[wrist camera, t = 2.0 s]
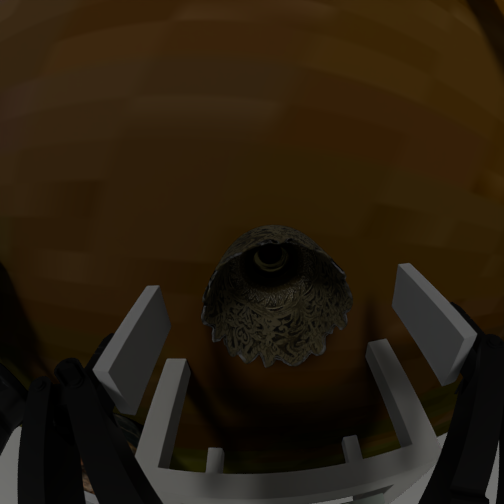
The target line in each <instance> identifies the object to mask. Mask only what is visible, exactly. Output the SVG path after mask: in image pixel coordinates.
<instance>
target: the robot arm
mask: <svg viewBox="0 0 504 504" xmlns="http://www.w3.org/2000/svg"><path fill="white" fill-rule="evenodd" d="M392 307H393V309H394V310H395V312H396V313H397V315H398V316H399V317H400V319H401V320H402V322H403V323H404V325H405V326H406V328H407V329H408V331H409V333H410V334H411V336H412V337H413V339H414V340H415V342H416V343H417V345H418V347H419V348H420V350H421V351H422V353H423V354H424V356H425V358H426V359H427V361H428V363H429V364H430V366H431V368H432V369H433V371H434V373H435V374H436V376H437V378H438V380H439V381H440V383H441V385H442V386H445V385H447V384H450V383H453V382H455V381H456V379H457V377H458V375H459V373H461V374H462V376H463V379H462V381H461V382H460V384H459V386H458V388H457V390H456V392H455V394H457V392H458V391H459V393H458V397H457V401H456V405H455V409H454V413H453V417H452V420H451V424H450V427H449V430H448V433H447V436H446V440H445V442H444V445H443V448H442V451H441V454H440V456H439V459H438V461H437V464H436V466H435V469H434V471H433V474H432V476H431V478H430V480H429V482H428V485H427V487H426V489H425V491H424V493H423V495H422V497H421V499H420V501H419V503H418V504H489V499H488V498H486V497H485V492H486V488H487V486H488V482H489V479H490V475H491V472H492V468H493V464H494V460H495V456H496V451H497V446H498V441H499V478H498V490H497V499H496V504H504V342H503V340H502V339H501V338H500V337H498V336H496V335H494V334H487V335H485V333H484V332H483V331H482V330H481V329H480V328H479V327H478V325H477V324H476V323H475V322H474V321H473V320H472V319H470V317H469V316H468V314H466V312H465V311H464V310H463V309H462V308H461V307H460V306H458V305H456V304H455V303H453V302H450V303H449V302H448V301H447V300H446V299H445V298H444V297H443V296H442V295H441V294H440V293H439V292H438V290H437V289H436V288H435V287H434V286H433V285H432V284H431V283H430V282H429V281H428V280H427V279H426V278H425V277H423V276H422V275H421V274H420V273H419V272H418V271H417V270H416V269H415V268H414V267H413V266H412V265H411V264H410V263H406V264H398V270H397V277H396V284H395V291H394V297H393V302H392ZM170 328H171V323H170V320H169V317H168V313H167V310H166V307H165V304H164V300H163V297H162V293H161V290H160V286H159V285H158V286H147V287H146V288H145V290H144V291H143V293H142V294H141V295H140V297H139V298H138V300H137V301H136V303H135V304H134V306H133V307H132V309H131V310H130V312H129V313H128V315H127V316H126V318H125V319H124V321H123V322H122V324H121V325H120V327H119V328H118V330H117V331H116V333H115V334H114V333H111V334H109V335H108V336H107V337H106V338H104V339H103V341H102V342H101V344H100V345H99V348H97V350H96V351H95V354H93V356H92V357H91V359H90V361H89V362H88V364H87V365H86V367H85V368H83V367H82V365H81V363H80V362H79V360H78V359H76V358H68V359H65V360H63V361H61V362H60V363H59V364H58V365H57V366H56V368H55V370H54V374H55V376H56V377H57V379H58V380H59V382H60V383H61V384H53V383H52V382H51V380H50V379H49V378H48V377H46V376H42V377H39V378H36V379H35V380H34V381H33V382H32V383H31V385H30V387H29V391H28V392H27V391H26V390H25V389H24V387H23V386H22V385H21V384H20V383H19V382H18V380H17V379H16V378H15V377H14V376H13V375H12V374H11V373H10V372H9V371H8V370H7V369H6V368H5V367H4V366H3V365H1V364H0V455H1V453H2V451H3V449H4V447H5V445H6V443H7V442H8V440H9V437H10V436H11V434H12V432H13V431H14V429H16V428H17V427H18V426H20V425H21V424H22V430H21V438H20V447H19V459H18V460H19V461H18V504H86V500H85V494H84V487H83V478H82V469H81V459H82V462H83V465H84V468H85V471H86V473H87V476H88V479H89V481H90V484H91V486H92V489H93V491H94V493H95V496H96V498H97V500H98V502H99V504H163V502H162V501H161V499H160V498H159V496H158V495H157V493H156V492H155V490H154V489H153V487H152V485H151V484H150V482H149V481H148V479H147V477H146V476H145V474H144V472H143V470H142V469H141V467H140V465H139V463H138V461H137V460H136V458H135V456H134V454H133V452H132V450H131V448H130V446H129V444H128V442H127V440H126V438H125V436H124V434H123V432H122V430H121V427H120V425H119V423H118V421H117V418H116V416H115V414H114V413H113V412H112V410H113V408H114V406H116V407H117V409H118V410H119V411H120V413H125V414H131V415H136V412H137V409H138V407H139V404H140V401H141V399H142V396H143V394H144V391H145V389H146V386H147V384H148V381H149V379H150V376H151V374H152V371H153V369H154V366H155V364H156V361H157V359H158V356H159V354H160V352H161V349H162V347H163V344H164V342H165V340H166V337H167V335H168V333H169V330H170Z"/></svg>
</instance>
